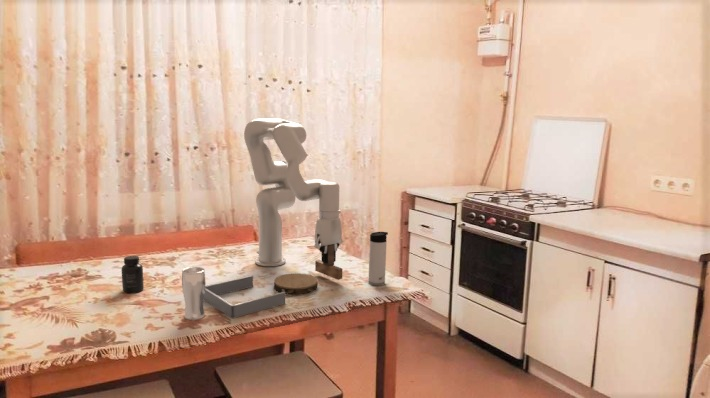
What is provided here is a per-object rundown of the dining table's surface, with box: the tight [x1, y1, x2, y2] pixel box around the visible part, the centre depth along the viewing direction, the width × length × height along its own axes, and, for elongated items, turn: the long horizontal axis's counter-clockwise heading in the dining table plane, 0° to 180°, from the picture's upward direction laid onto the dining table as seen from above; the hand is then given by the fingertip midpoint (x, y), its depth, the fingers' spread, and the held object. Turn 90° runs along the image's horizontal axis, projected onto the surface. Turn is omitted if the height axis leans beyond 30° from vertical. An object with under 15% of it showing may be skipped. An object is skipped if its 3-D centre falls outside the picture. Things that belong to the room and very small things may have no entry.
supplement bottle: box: [121, 255, 145, 294], centre depth 180 cm, size 7×7×12 cm
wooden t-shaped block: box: [314, 244, 343, 281], centre depth 197 cm, size 14×3×12 cm, turn 42°
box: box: [203, 275, 286, 319], centre depth 174 cm, size 22×20×4 cm
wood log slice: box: [273, 272, 319, 296], centre depth 188 cm, size 16×16×3 cm
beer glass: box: [181, 266, 206, 321], centre depth 159 cm, size 7×7×15 cm
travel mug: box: [367, 231, 389, 287], centre depth 194 cm, size 6×7×20 cm
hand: (328, 261), depth 197 cm, fingers closed on wooden t-shaped block, 3 cm apart
